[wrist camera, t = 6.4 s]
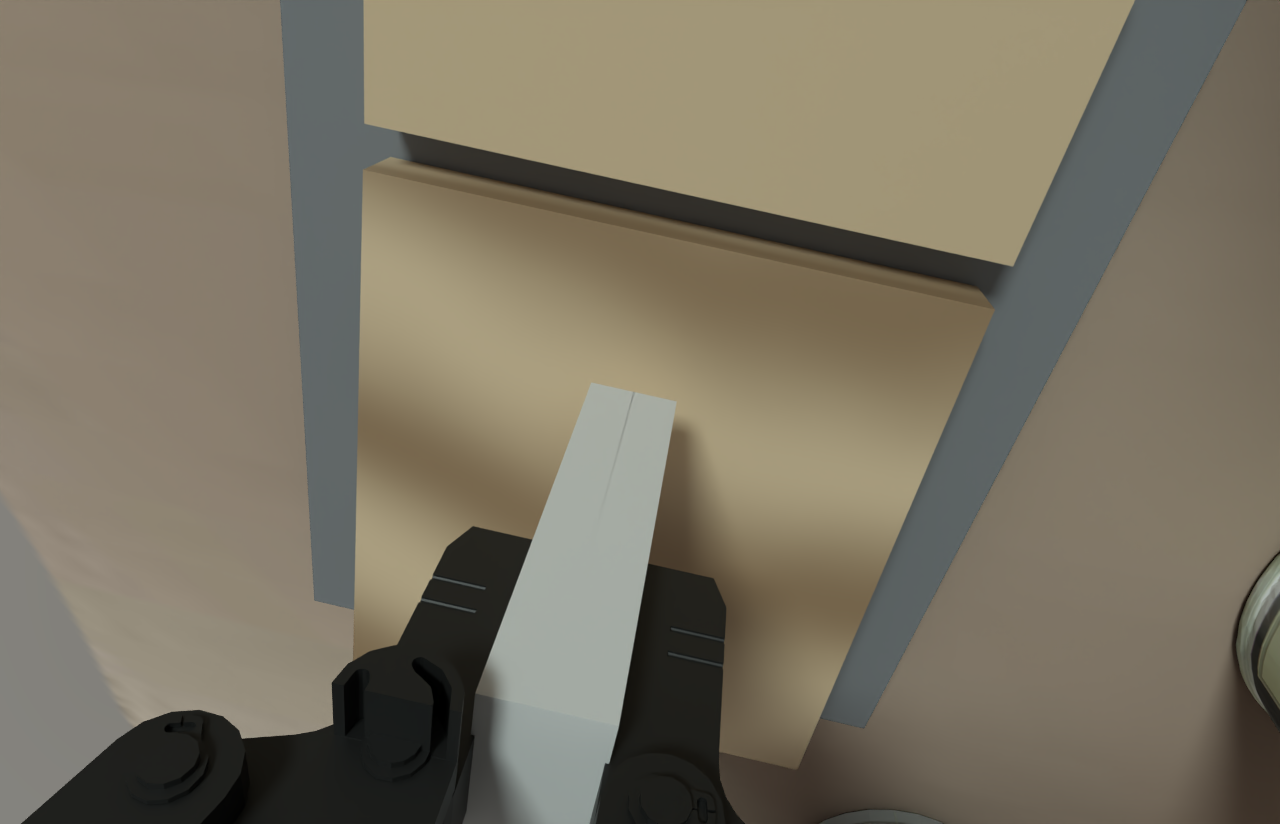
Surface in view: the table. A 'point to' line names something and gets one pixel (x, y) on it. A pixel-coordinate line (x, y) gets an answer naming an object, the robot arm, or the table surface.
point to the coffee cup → (880, 818)
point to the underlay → (758, 182)
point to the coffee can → (1262, 642)
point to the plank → (657, 366)
